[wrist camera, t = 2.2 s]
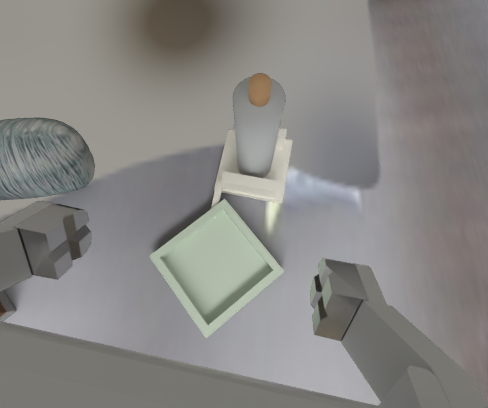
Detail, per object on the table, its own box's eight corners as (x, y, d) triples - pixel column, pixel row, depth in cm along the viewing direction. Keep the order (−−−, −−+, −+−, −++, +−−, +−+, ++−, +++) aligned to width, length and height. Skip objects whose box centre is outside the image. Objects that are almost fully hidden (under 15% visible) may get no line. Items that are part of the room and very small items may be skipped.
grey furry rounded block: (-57, 220, 28) (-130, 138, 21) (-7, 163, 34) (-50, 85, 27) (89, 228, 31) (67, 158, 24) (109, 174, 37) (97, 107, 30)
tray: (226, 203, 31) (224, 198, 30) (282, 271, 29) (284, 271, 27) (154, 257, 30) (149, 256, 28) (208, 334, 28) (206, 338, 26)
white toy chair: (291, 143, 34) (296, 129, 30) (276, 232, 30) (280, 226, 27) (228, 132, 34) (227, 117, 31) (208, 218, 31) (203, 211, 28)
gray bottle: (256, 142, 33) (263, 50, 20) (278, 166, 32) (300, 86, 19) (230, 161, 32) (220, 79, 19) (252, 186, 31) (256, 117, 18)
